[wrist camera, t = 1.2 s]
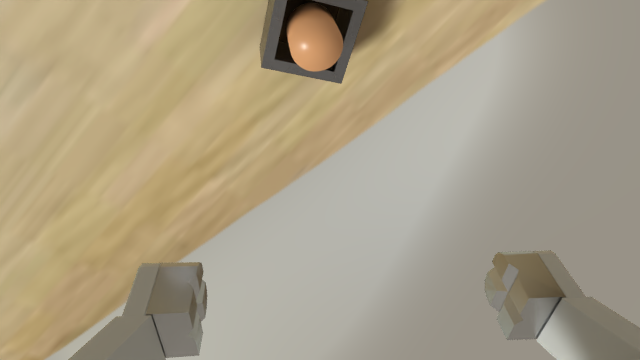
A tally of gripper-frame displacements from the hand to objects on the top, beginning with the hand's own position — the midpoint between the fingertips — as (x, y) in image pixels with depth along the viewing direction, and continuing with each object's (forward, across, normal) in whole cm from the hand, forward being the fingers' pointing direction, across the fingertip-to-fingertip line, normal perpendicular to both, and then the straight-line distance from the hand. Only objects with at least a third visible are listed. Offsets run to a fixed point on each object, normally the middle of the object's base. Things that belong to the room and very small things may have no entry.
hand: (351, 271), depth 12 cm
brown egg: (+24, 0, +1) cm, 24 cm away
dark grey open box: (+26, 0, +1) cm, 26 cm away
